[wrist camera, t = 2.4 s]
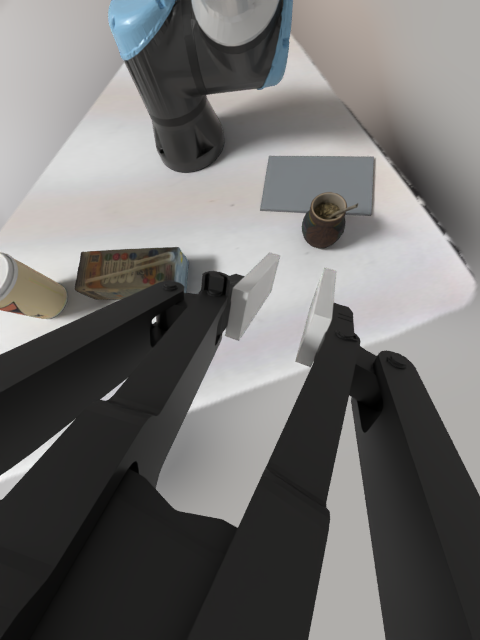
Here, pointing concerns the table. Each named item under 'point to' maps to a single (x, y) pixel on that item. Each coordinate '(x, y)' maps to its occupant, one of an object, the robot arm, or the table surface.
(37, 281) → the coffee cup
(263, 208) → the mat
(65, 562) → the robot arm
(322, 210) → the mate gourd
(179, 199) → the table surface
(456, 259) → the table surface
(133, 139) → the table surface
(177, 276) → the beverage carton
